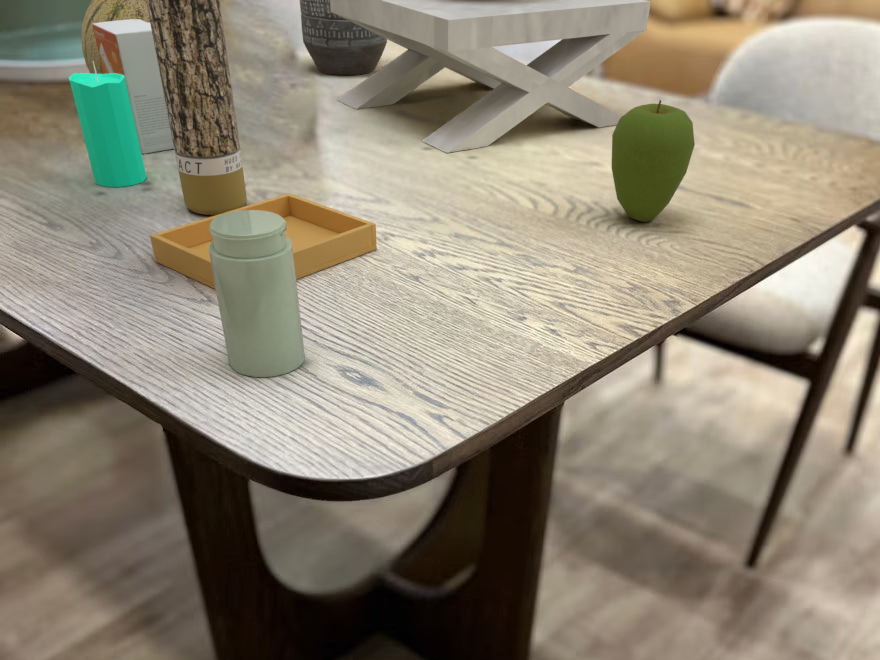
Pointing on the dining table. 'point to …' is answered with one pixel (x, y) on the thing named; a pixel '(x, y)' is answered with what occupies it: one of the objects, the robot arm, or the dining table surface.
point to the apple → (650, 158)
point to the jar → (257, 292)
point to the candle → (108, 128)
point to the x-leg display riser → (494, 56)
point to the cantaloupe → (107, 5)
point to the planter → (338, 41)
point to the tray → (308, 227)
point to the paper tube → (199, 102)
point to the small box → (137, 77)
